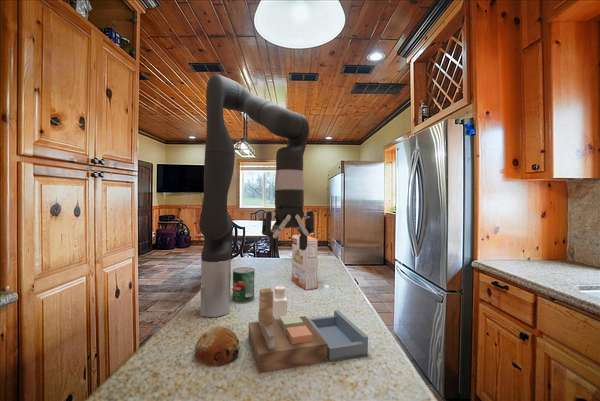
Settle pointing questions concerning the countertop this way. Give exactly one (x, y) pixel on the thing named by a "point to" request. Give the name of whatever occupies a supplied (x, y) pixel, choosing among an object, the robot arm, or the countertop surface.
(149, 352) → the countertop surface
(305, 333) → the terracotta tile
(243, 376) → the countertop surface
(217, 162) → the robot arm
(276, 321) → the board
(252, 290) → the canned tomato
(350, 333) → the tray
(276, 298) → the pepper shaker
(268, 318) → the long tan wooden block
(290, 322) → the sage tile
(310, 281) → the cracker box
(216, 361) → the bread roll
